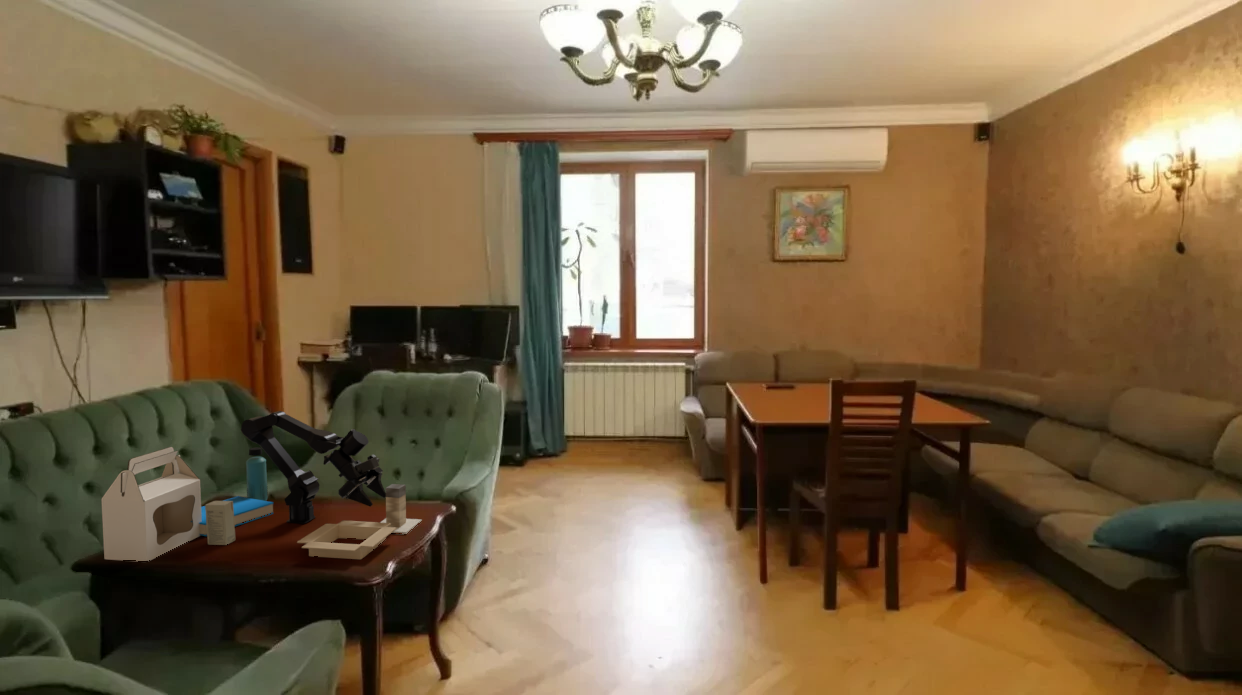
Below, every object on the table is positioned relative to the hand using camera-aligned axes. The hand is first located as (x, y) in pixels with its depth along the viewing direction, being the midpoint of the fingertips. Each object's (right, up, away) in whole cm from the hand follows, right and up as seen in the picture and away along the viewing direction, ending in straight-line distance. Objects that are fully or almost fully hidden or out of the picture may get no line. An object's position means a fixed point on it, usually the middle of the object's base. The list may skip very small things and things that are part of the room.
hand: (378, 501), depth 226 cm
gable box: (-59, -9, -19) cm, 62 cm away
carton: (-3, -10, -18) cm, 21 cm away
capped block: (+6, -7, 0) cm, 9 cm away
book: (-52, -7, +3) cm, 52 cm away
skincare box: (-42, -9, -16) cm, 45 cm away
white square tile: (+6, -8, 0) cm, 10 cm away
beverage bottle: (-49, -6, +20) cm, 54 cm away
